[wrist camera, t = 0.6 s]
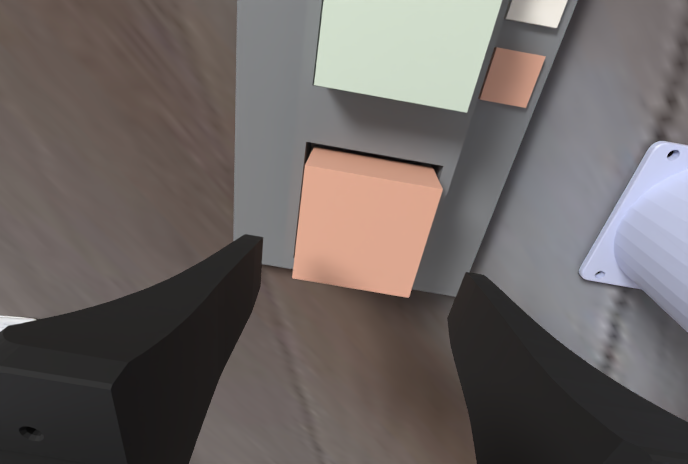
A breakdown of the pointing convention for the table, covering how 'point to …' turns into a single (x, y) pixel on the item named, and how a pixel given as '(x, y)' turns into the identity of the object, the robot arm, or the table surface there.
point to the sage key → (406, 48)
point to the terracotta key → (364, 221)
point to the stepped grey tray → (382, 128)
